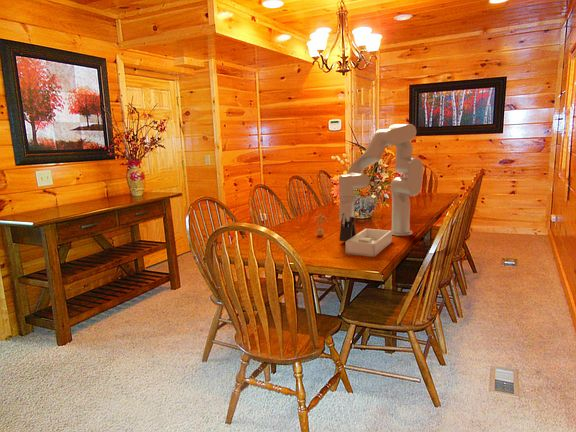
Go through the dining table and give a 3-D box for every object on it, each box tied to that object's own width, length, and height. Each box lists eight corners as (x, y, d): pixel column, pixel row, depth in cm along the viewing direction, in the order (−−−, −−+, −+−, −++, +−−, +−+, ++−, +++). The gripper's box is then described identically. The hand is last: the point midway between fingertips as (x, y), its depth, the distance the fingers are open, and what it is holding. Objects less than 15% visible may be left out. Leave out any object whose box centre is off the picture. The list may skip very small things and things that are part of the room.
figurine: (312, 236, 240) (311, 215, 238) (314, 234, 245) (313, 213, 243) (326, 236, 238) (326, 215, 236) (328, 234, 243) (328, 213, 241)
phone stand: (346, 236, 229) (345, 214, 227) (356, 237, 226) (356, 215, 224) (339, 241, 222) (338, 218, 219) (350, 242, 219) (349, 219, 216)
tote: (365, 239, 229) (365, 228, 228) (391, 241, 222) (391, 230, 221) (345, 253, 203) (345, 241, 202) (374, 257, 197) (374, 244, 195)
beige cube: (361, 247, 210) (361, 237, 209) (371, 248, 208) (371, 238, 207) (358, 249, 206) (358, 239, 205) (368, 250, 203) (368, 240, 202)
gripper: (345, 196, 228) (346, 229, 232) (334, 201, 215) (335, 236, 218) (359, 196, 225) (359, 230, 228) (348, 201, 211) (349, 238, 215)
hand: (347, 233), depth 223 cm, fingers closed on phone stand, 1 cm apart
